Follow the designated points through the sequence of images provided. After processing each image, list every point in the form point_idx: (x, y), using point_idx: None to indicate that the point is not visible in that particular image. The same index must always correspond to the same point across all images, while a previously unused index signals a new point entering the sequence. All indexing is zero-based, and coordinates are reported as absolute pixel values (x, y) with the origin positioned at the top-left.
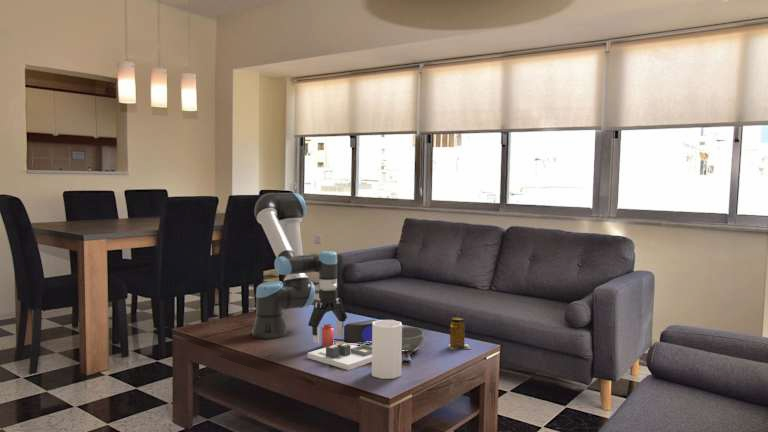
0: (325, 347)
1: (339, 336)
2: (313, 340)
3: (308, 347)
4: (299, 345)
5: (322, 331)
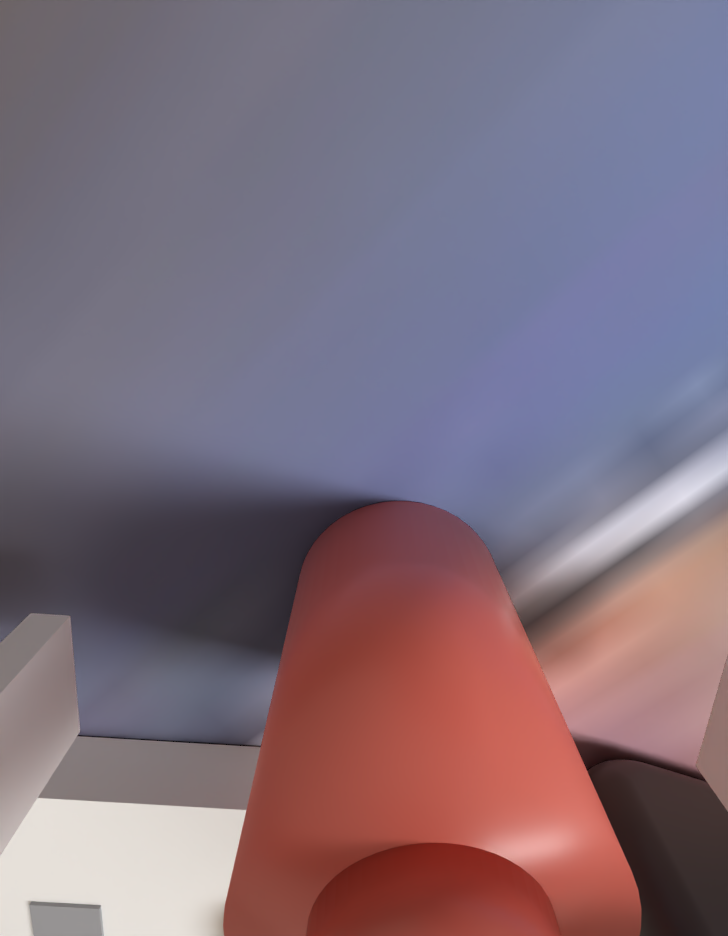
0: (125, 806)
1: (711, 724)
2: (7, 640)
3: (145, 371)
4: (106, 117)
5: (251, 795)
